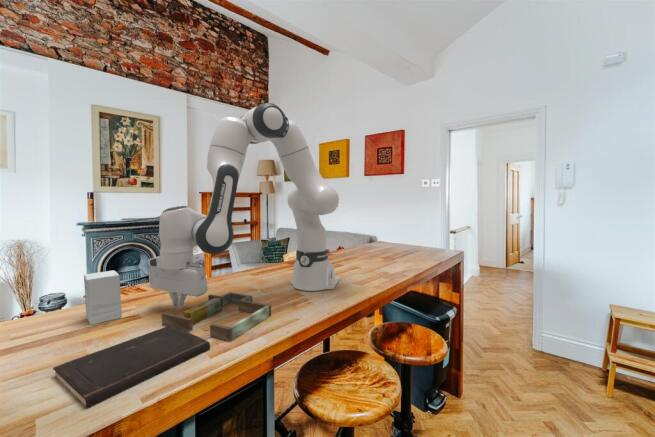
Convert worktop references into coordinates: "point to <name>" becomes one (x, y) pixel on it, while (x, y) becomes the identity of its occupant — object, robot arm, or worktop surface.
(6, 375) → the worktop surface
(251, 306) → the trap corral
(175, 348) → the hardcover book
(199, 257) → the syrup box
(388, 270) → the worktop surface
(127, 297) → the worktop surface
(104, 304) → the supplement box
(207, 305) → the medication box
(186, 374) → the worktop surface
